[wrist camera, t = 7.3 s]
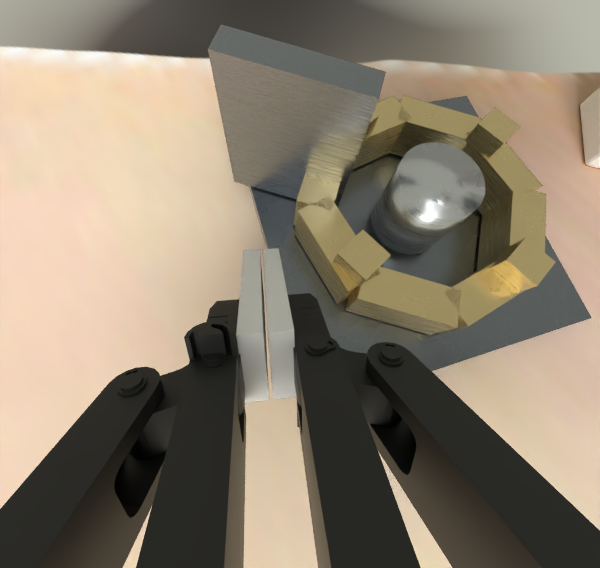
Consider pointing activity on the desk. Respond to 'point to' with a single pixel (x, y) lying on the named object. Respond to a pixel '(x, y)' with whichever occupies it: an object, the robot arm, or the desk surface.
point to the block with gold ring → (358, 151)
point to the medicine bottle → (591, 128)
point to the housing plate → (427, 266)
